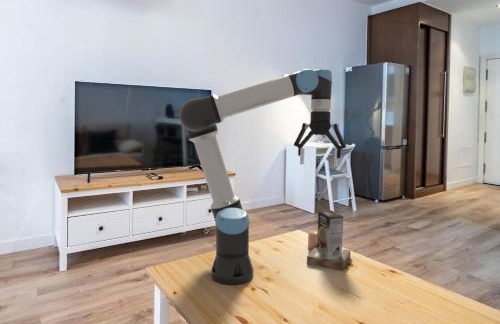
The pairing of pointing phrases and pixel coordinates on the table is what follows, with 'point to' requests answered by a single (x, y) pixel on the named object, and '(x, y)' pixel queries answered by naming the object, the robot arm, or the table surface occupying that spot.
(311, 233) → the peach glossy stubby part
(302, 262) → the table surface
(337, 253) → the coffee box
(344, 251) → the walnut picture frame
